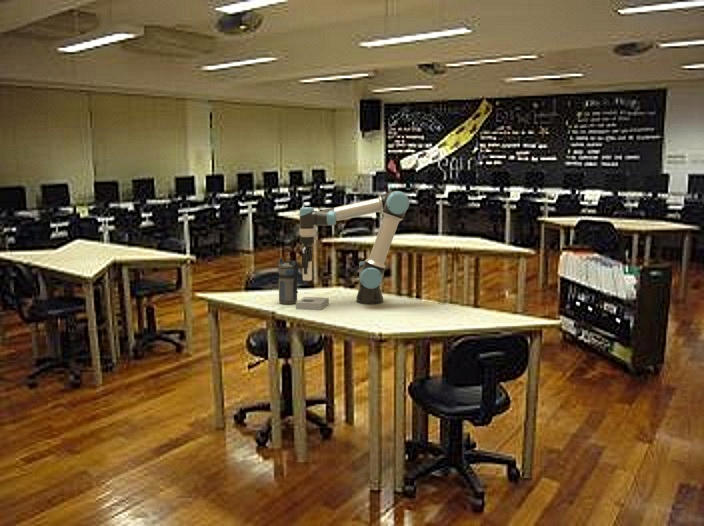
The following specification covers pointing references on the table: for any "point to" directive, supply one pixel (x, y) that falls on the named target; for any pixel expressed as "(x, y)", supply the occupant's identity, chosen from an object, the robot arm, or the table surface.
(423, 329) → the table surface
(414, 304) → the table surface
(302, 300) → the grey block with hole
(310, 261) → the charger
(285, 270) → the beverage bottle
